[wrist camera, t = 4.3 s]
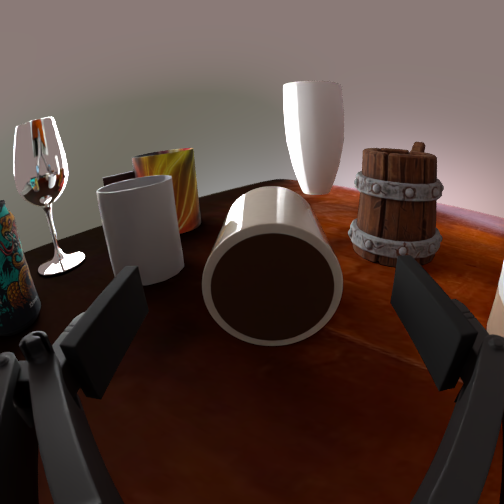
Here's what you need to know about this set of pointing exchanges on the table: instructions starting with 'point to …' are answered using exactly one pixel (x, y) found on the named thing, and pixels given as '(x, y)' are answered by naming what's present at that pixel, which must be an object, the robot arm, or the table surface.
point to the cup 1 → (142, 227)
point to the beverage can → (14, 280)
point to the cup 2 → (314, 132)
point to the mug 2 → (397, 205)
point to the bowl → (497, 310)
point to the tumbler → (272, 270)
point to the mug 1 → (183, 180)
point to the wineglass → (43, 180)
